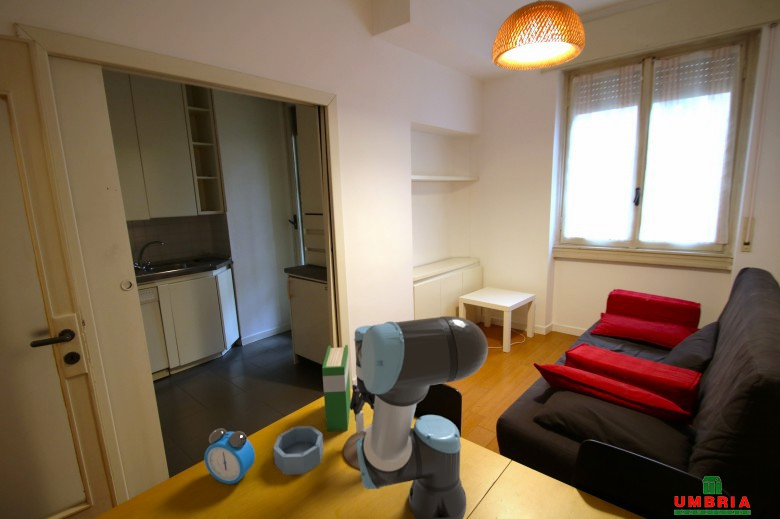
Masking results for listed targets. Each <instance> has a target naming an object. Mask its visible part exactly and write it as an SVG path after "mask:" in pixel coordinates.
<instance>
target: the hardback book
mask: <svg viewBox="0 0 780 519" xmlns="http://www.w3.org/2000/svg"><path fill="white" fill-rule="evenodd" d="M349 358H350V357H349V344H345V346H344V347H332V345H328V346H327V349H326V354H325V356H324V361H323V364H322V368H321V372H322V382H323V384H322V385H323V399H324V401H323V402H324V414H325V415H324V416H325V430H326V432H334V431H336V432H337V431H348V430H349V420H350V413H351V409H350V404H351V398H352V394H351V381H350V380H351V378H350V362H349V361H350V359H349Z"/></svg>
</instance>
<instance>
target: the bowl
mask: <svg viewBox="0 0 780 519" xmlns="http://www.w3.org/2000/svg"><path fill="white" fill-rule="evenodd" d="M272 449H273V457H274V465H275V466H276V468H278V470H280V472H282V474H283V475H284V476H288V475H289V476H290V475H306V474H307V473H308V472H310V471H311V470H313V469H315V468H316V467H317V466H319V465H321V464H322V459H323V455H324V436H323V433H322V432H321V431H320V430H318V429H317V428H316V427H314V426H313V425H306V426H305V425H301V426H300V425H299V426H297V425H296V426H293V427H292V428H289V429H288V430H285V431H284V432H282V433H279V435H278V436H277V439H276V441H275V443H274V446H273V448H272Z"/></svg>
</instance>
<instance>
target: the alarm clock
mask: <svg viewBox="0 0 780 519" xmlns="http://www.w3.org/2000/svg"><path fill="white" fill-rule="evenodd" d="M208 442H209V444H210V445H209V446H208V447H207V448H206V450H205V452H204V457H203V458H204V464H205V467H206V469H207V471H208V472H209V474H210V475H211V476H212V477H213V478H214V479H215V480H216V481H219V482H221V483H223V484H227V485H232V484H233V485H234V484H236V485H237V486H238V485H239V481H241V479H243V477H244V476H245V475H246V474H247V472H249V470H250V469H251V468H252V466H253V464H254V463H255V460H256V454H255V450H254V447H253V445H252V443H251V442H250V440H249V439H248V438H247V435H246V434H245V432H243V431H239V430H238V431H227V430H226V429H225V428H222V427H221V428H217V429H214V430H213V431H212V432H211V433H210V435H209V437H208Z"/></svg>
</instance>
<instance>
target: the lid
mask: <svg viewBox="0 0 780 519" xmlns="http://www.w3.org/2000/svg"><path fill="white" fill-rule="evenodd" d="M371 427H372V423H371V424H369V425H368V426H366V427H364V429H363V430H362V431H361V432H359V433H357V432H356V431H355V432H354V433H353V434H351V435H350V436H349V437H348V438H347V440H345V443H344V446H343V456H344V458H345V460H346V462H347V463H348V464H350V465H351V466H353V467H354V468H357V469H359V470H360V467H359V461H358V454H357V447H356V440H357V439H358V438H360V437H362V436H365V435H366V433H367V432H368V430H369V429H370V428H371Z"/></svg>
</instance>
